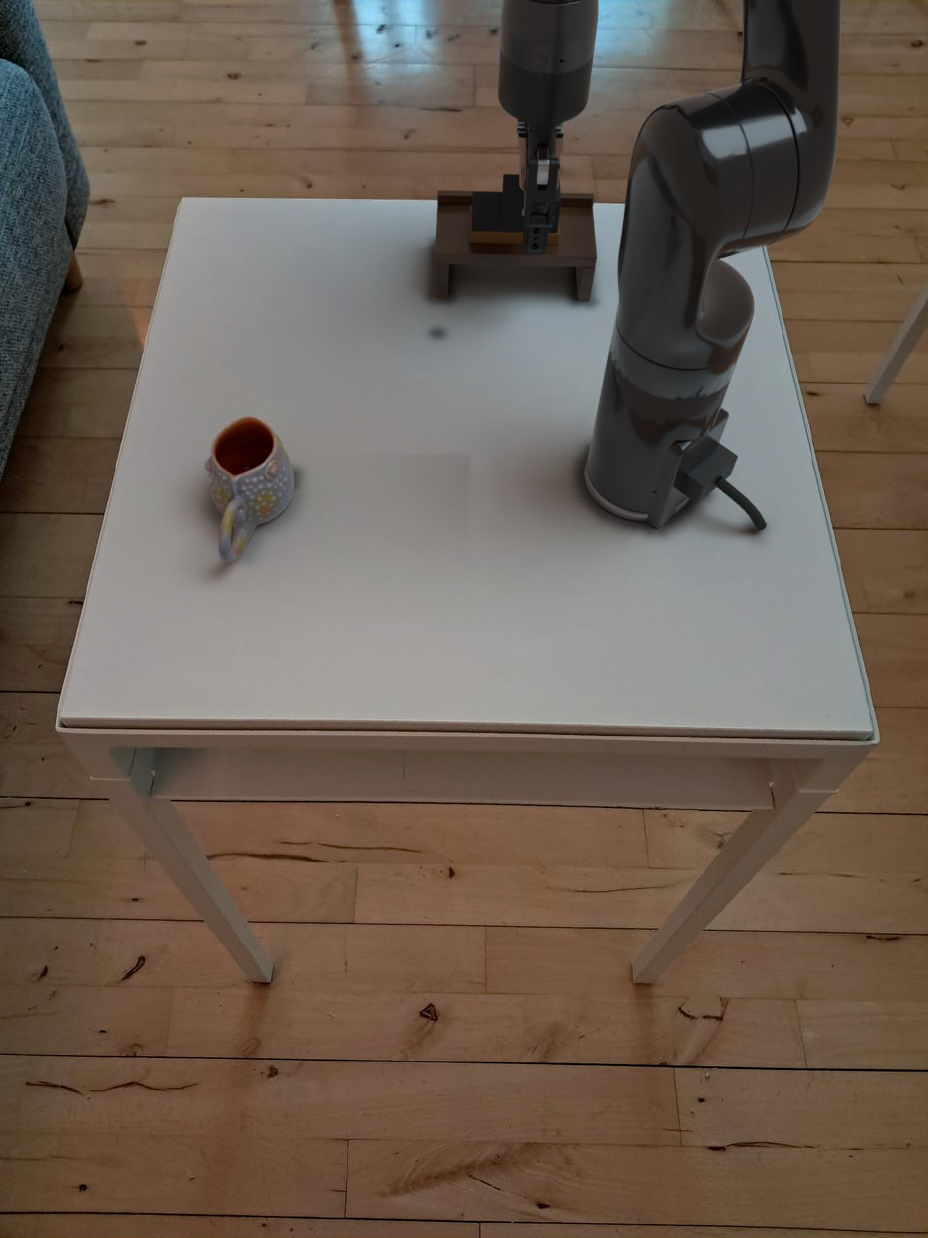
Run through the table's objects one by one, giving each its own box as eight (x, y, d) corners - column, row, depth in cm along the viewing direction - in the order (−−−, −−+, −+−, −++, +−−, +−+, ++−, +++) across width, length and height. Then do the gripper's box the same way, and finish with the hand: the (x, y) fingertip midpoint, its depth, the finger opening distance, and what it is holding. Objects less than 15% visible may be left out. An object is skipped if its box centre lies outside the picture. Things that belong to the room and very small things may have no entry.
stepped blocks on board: (556, 217, 91) (561, 173, 87) (558, 244, 89) (563, 201, 85) (469, 215, 91) (470, 172, 87) (469, 243, 89) (470, 199, 85)
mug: (229, 459, 82) (212, 405, 76) (306, 470, 81) (295, 417, 75) (186, 573, 76) (164, 524, 70) (268, 586, 75) (254, 537, 69)
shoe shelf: (586, 247, 96) (594, 192, 91) (590, 300, 92) (598, 247, 87) (437, 244, 96) (437, 189, 91) (435, 297, 92) (434, 244, 87)
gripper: (600, 94, 71) (575, 273, 85) (589, -3, 78) (569, 177, 92) (500, 92, 71) (492, 272, 85) (499, -5, 78) (492, 175, 92)
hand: (532, 222), depth 88 cm, fingers open, 8 cm apart
